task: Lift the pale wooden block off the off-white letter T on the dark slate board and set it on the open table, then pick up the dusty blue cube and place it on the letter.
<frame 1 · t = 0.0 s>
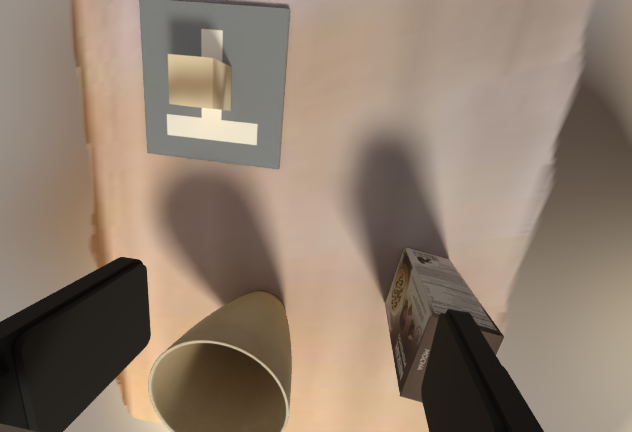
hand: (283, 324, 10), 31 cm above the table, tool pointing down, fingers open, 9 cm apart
coffee box: (416, 281, 42), on the table
plant pot: (263, 312, 47), on the table
wood block: (211, 87, 38), point 1 cm above the table, touching letter board
letter board: (213, 88, 39), on the table
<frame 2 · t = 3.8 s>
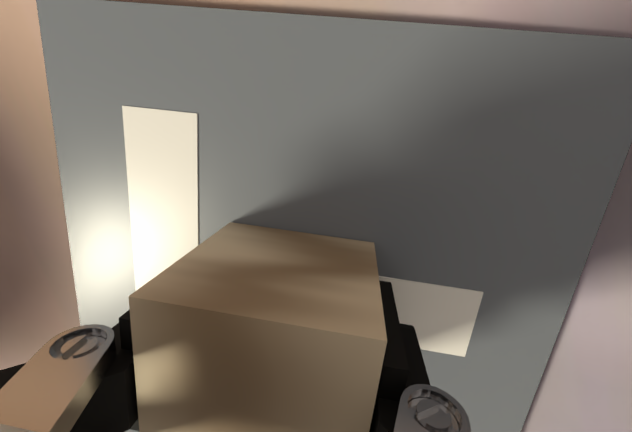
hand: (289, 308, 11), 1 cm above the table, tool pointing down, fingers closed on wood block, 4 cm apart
wood block: (294, 296, 11), point 1 cm above the table, touching gripper, letter board
letter board: (297, 287, 12), on the table
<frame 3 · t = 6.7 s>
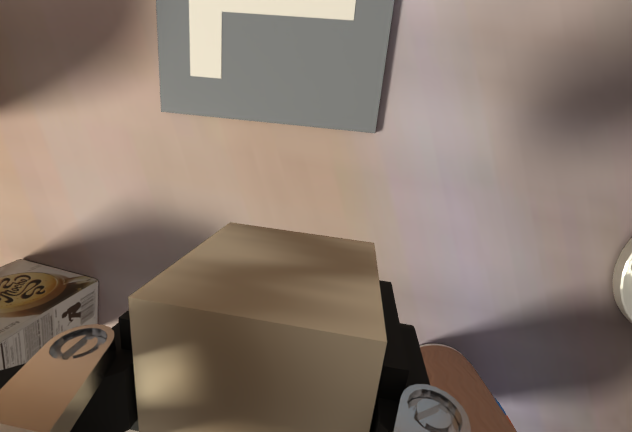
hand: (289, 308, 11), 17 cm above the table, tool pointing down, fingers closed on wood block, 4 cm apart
coffee cup: (432, 370, 31), on the table
coffee box: (62, 292, 34), on the table
wood block: (294, 296, 11), point 16 cm above the table, touching gripper
when the fingers open (2 cm above the table, at t = 10.0 s): wood block drops 2 cm, on the table.
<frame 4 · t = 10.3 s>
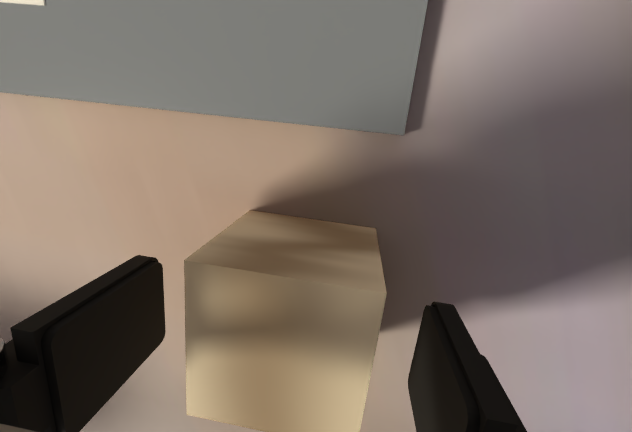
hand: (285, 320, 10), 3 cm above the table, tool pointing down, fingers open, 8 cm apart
wood block: (305, 275, 13), on the table
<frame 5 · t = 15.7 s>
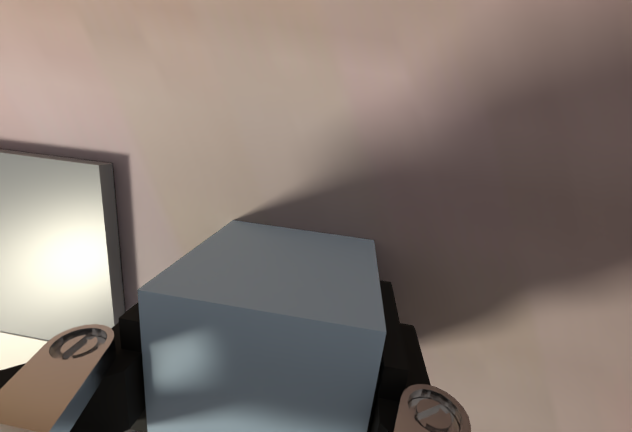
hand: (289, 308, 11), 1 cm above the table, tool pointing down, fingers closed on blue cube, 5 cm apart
blue cube: (296, 293, 11), on the table, touching gripper
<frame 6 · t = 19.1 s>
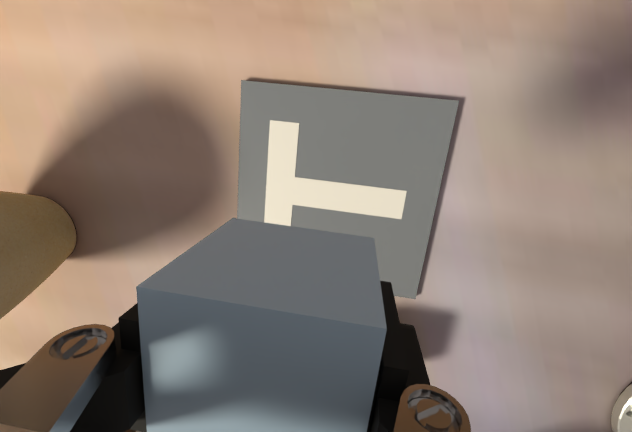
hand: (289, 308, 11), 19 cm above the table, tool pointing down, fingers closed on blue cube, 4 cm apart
blue cube: (295, 291, 11), point 18 cm above the table, touching gripper
plant pot: (47, 228, 34), on the table
letter board: (334, 194, 29), on the table
when the fingers open (3 cm above the table, at t = 22.4 s): blue cube drops 1 cm, resting on letter board.
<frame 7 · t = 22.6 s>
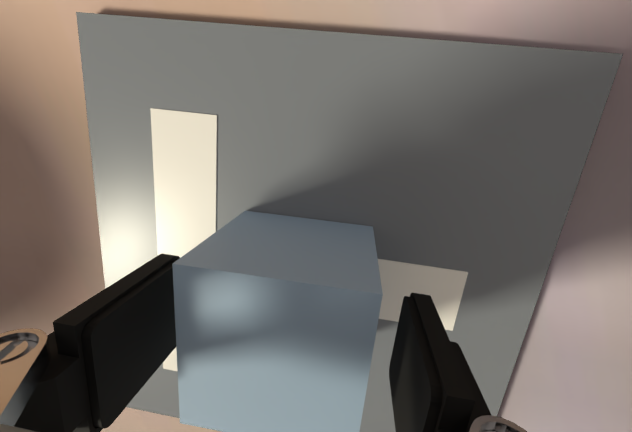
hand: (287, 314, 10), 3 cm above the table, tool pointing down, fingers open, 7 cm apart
blue cube: (302, 276, 13), point 1 cm above the table, touching letter board
letter board: (304, 270, 13), on the table
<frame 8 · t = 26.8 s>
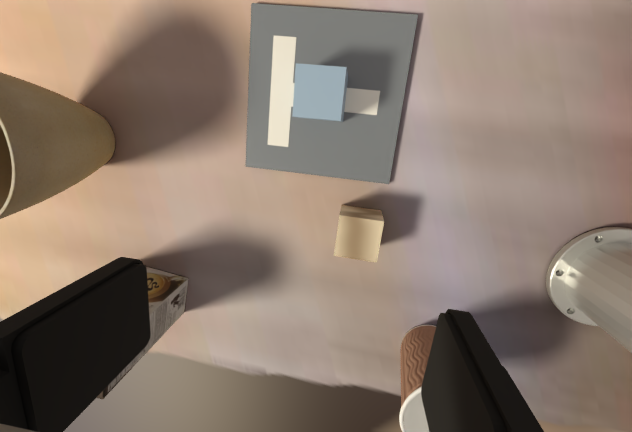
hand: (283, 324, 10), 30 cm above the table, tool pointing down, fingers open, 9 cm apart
blue cube: (323, 97, 36), point 1 cm above the table, touching letter board
coffee cup: (426, 344, 44), on the table
coffee box: (160, 287, 47), on the table
plant pot: (91, 139, 42), on the table
wood block: (358, 225, 40), on the table
letter board: (324, 98, 36), on the table
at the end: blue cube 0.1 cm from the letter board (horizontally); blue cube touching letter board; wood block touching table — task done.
